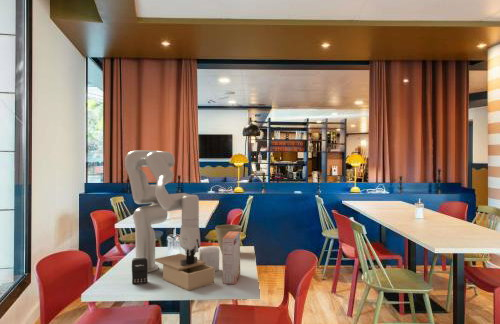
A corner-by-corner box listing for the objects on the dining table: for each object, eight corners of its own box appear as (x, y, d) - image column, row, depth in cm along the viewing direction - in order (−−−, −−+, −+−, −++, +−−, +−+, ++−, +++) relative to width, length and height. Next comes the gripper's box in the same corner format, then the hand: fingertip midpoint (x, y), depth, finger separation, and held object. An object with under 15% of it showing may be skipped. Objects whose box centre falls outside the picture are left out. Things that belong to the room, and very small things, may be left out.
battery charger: (131, 285, 161) (131, 259, 161) (132, 282, 165) (131, 257, 165) (147, 284, 163) (147, 258, 163) (148, 281, 167) (148, 256, 166)
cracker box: (228, 274, 177) (228, 230, 177) (240, 274, 176) (240, 231, 176) (221, 284, 163) (221, 237, 163) (234, 284, 162) (234, 237, 162)
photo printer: (216, 268, 186) (216, 244, 186) (220, 270, 182) (220, 245, 182) (197, 272, 180) (197, 246, 180) (201, 274, 177) (201, 248, 177)
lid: (154, 260, 174) (154, 254, 174) (180, 255, 184) (180, 248, 184) (178, 270, 159) (178, 263, 159) (205, 263, 169) (205, 256, 169)
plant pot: (240, 250, 222) (240, 224, 221) (241, 257, 207) (241, 229, 207) (215, 251, 221) (215, 224, 220) (215, 257, 206) (215, 229, 206)
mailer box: (163, 279, 169) (163, 264, 169) (188, 273, 179) (188, 258, 178) (188, 291, 154) (188, 274, 154) (214, 283, 164) (214, 267, 164)
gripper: (173, 221, 166) (173, 262, 166) (193, 226, 155) (193, 269, 156) (187, 219, 171) (187, 258, 172) (207, 223, 161) (207, 265, 161)
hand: (190, 263), depth 164 cm, fingers closed
